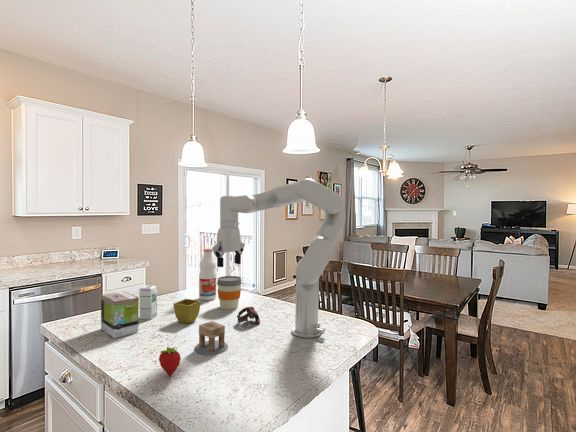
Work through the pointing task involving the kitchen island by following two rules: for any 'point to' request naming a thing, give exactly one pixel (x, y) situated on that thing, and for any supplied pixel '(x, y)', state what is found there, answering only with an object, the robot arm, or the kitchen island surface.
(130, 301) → the tea box
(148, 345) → the kitchen island surface
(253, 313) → the brown curved piece
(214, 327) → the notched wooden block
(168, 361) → the strawberry
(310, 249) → the robot arm
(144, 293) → the syrup box
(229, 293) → the reusable coffee cup
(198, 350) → the mat
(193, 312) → the flower pot
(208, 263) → the white plastic bottle
